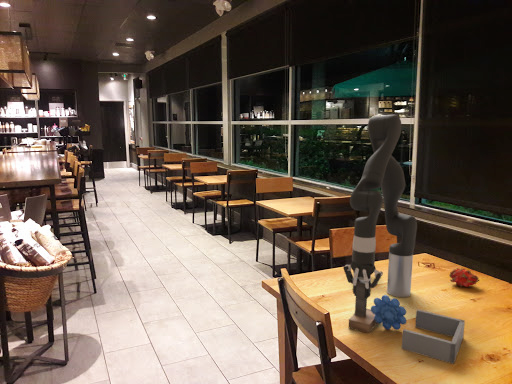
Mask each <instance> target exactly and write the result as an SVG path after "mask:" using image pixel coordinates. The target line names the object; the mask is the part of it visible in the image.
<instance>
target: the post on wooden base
mask: <svg viewBox="0 0 512 384" xmlns="http://www.w3.org/2000/svg"><path fill="white" fill-rule="evenodd" d="M365 288H366V287H365V282H364V280H360V279H359V280H358V281H357V284H356V296H355V303H354V304H355V305H354V306H355V307H354V308H355V309H354V314H353V315H351V316H350V318H348V327H347V328H348V329H352V330H355V331H360V332H362V333H366V334H370V332H371V331H372V330H373V329H374V328H375V326H376V324H378V323H377V322H376V321H375V319H374V317H375V314H373V313H372V311H371V308H367V307H368V306H367V301H368V298H367V299H366V298H365Z"/></svg>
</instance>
